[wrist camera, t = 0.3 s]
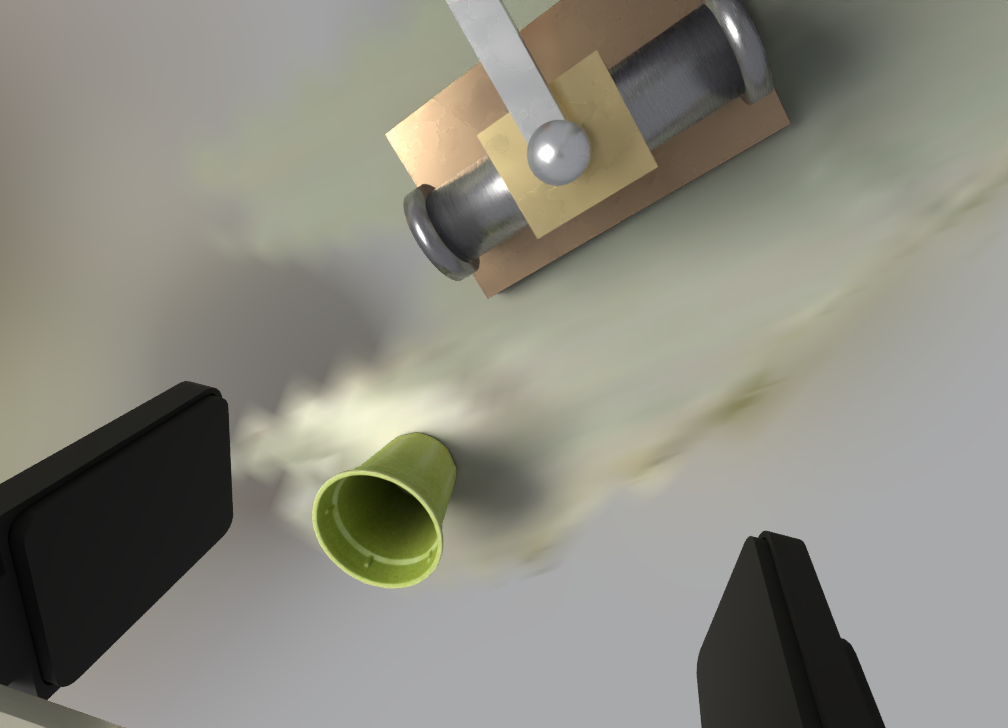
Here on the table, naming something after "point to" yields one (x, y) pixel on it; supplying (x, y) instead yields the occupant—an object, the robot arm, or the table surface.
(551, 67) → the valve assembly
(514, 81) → the lever
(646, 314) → the table surface
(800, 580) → the robot arm
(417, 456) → the plant pot
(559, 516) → the table surface
